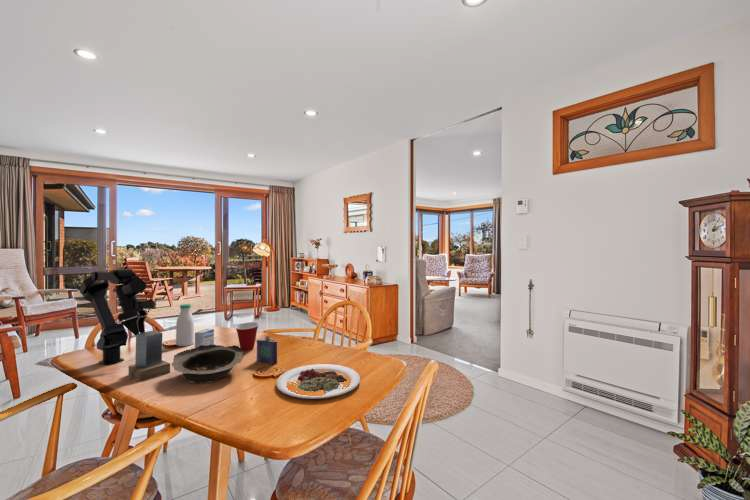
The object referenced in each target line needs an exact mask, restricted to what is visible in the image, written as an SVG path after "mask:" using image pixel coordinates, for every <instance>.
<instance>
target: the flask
mask: <svg viewBox="0 0 750 500" xmlns="http://www.w3.org/2000/svg"><path fill="white" fill-rule="evenodd" d="M270 336H271V335H270V334H269V335H265V336H264V338H256V362H257V363H263V364H269V365H277V364H278V341H277V340H275V339H273V338H271V337H270Z"/></svg>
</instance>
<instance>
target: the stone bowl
mask: <svg viewBox="0 0 750 500" xmlns="http://www.w3.org/2000/svg"><path fill="white" fill-rule="evenodd" d="M243 359H244V351H243V350H242V349H241V348H240V345H239V346H238V345H230V346H229V345H228V346H224V345H218V344H214V345H205V346H203V345H201V346H199V347H197V348H195V347H194V348H190V349H186V350H183V351H180V352H178V353H176V354H174V355H173V358H172V361H173V362H171V363H170V365H171V366H172V368H173V370H174V371H177V372H178V373H181V374H182V375H183V378H184V379H185V381H187V382H192V383H193V384H196V385H197V384H198V385H199V384H201V383H213V382H215V381H217V380H218V379H221V378H223V377H224V376H226V375H228V374H229V373H230V372H231V371H232V370H233V368H234V367H236V365H237V364H240V363H241V362H242V361H243Z"/></svg>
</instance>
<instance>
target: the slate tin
mask: <svg viewBox="0 0 750 500" xmlns="http://www.w3.org/2000/svg"><path fill="white" fill-rule="evenodd" d="M162 360H163V332H161V331H157V330H156V331H155V330H149V331H145V332H144V333H140V332H139V334H136V336H135V363H134V364H135V366H138V367H142V368H149V367H152V366H155V365H158V364H161V363H162Z"/></svg>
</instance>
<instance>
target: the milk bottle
mask: <svg viewBox="0 0 750 500" xmlns="http://www.w3.org/2000/svg"><path fill="white" fill-rule="evenodd" d="M191 306H192V305H191V303H182V304H180V305H179V308H180V309H179V310H180V313H179V315H178V316H177V319H176V324H175V325H176V326H175V327H176V329H175V331H176V332H175V345H176V346H177V345H178V346H177V347H188V346H191V345H194V344H195V319H194V316H193V314H192V312H191V308H192V307H191Z"/></svg>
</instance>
